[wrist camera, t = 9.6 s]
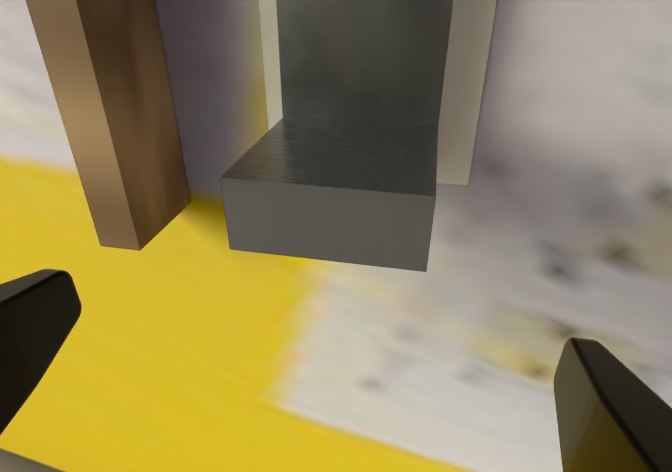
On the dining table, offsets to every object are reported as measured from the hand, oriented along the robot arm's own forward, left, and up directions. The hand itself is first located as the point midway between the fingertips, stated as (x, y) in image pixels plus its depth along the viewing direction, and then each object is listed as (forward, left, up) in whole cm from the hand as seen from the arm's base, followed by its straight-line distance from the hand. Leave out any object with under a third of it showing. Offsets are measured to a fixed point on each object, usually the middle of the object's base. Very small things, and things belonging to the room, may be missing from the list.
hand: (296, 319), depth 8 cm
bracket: (-3, 0, -10) cm, 11 cm away
